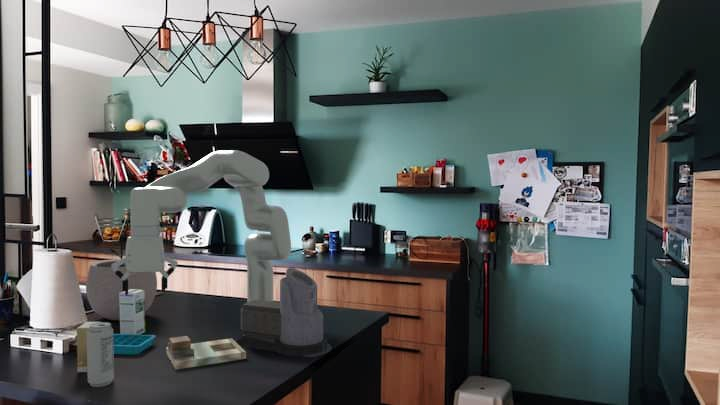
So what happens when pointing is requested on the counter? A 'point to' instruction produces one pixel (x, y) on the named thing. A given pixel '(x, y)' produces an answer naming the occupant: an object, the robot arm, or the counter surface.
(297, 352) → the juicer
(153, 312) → the counter surface
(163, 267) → the robot arm
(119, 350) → the ice cube tray
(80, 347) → the skincare box
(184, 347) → the walnut block
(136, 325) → the syrup box
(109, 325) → the energy drink can
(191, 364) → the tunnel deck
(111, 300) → the plant pot
